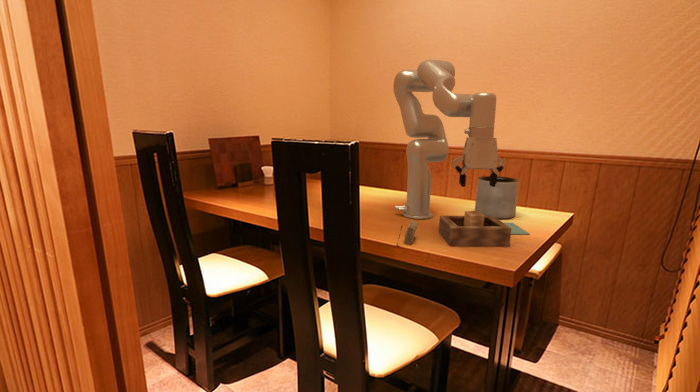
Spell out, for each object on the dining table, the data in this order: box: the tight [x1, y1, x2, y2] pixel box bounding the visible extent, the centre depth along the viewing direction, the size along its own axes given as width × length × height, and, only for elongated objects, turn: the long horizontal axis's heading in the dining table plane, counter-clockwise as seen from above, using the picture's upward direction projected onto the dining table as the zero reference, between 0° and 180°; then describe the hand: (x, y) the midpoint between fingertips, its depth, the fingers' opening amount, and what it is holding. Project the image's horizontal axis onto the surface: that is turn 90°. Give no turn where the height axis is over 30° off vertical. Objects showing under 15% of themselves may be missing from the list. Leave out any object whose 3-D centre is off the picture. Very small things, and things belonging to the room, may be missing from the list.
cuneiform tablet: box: [395, 219, 418, 247], centre depth 121 cm, size 7×4×12 cm
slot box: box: [438, 214, 512, 248], centre depth 124 cm, size 19×15×6 cm
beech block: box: [463, 210, 484, 226], centre depth 124 cm, size 4×6×9 cm
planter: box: [474, 175, 519, 220], centre depth 155 cm, size 16×16×16 cm
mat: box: [503, 222, 531, 236], centre depth 137 cm, size 12×14×1 cm
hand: (477, 186), depth 121 cm, fingers open, 9 cm apart
